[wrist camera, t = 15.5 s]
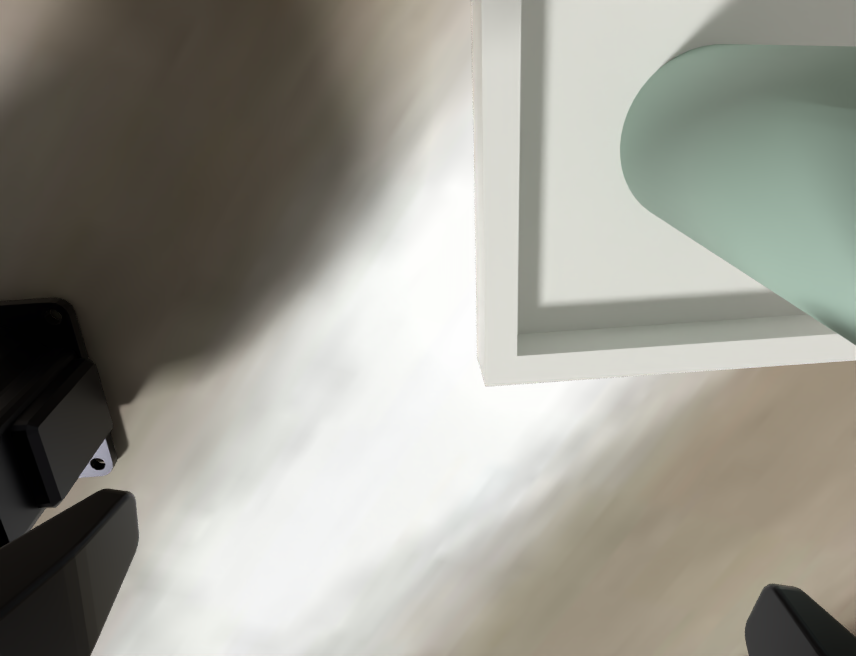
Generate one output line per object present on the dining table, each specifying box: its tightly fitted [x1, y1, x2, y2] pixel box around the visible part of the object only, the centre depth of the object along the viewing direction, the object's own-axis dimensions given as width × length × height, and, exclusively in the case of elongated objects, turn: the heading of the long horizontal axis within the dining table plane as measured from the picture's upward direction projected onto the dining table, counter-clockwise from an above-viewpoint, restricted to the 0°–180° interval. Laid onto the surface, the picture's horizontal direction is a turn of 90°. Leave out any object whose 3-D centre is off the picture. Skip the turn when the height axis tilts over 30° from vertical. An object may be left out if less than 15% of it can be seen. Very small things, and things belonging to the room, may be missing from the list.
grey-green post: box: [620, 44, 856, 345], centre depth 14 cm, size 5×5×12 cm
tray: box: [471, 0, 856, 387], centre depth 19 cm, size 14×14×2 cm
